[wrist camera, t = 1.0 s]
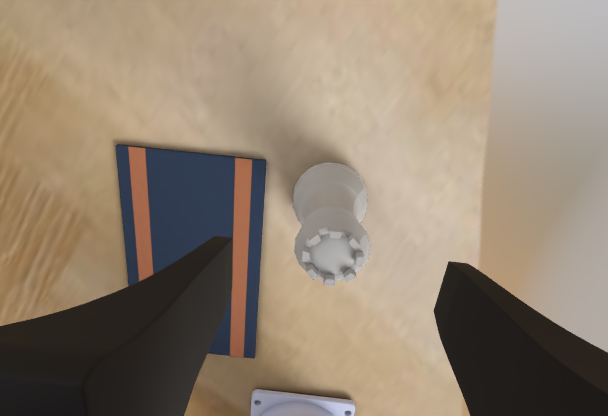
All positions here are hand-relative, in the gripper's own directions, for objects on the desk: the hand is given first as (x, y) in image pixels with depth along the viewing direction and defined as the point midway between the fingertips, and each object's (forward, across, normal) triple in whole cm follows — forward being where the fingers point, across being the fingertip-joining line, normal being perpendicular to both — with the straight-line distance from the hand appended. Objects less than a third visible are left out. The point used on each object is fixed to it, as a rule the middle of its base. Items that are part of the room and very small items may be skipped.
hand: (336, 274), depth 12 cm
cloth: (+10, +8, +7) cm, 15 cm away
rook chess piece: (+11, 0, +1) cm, 11 cm away
